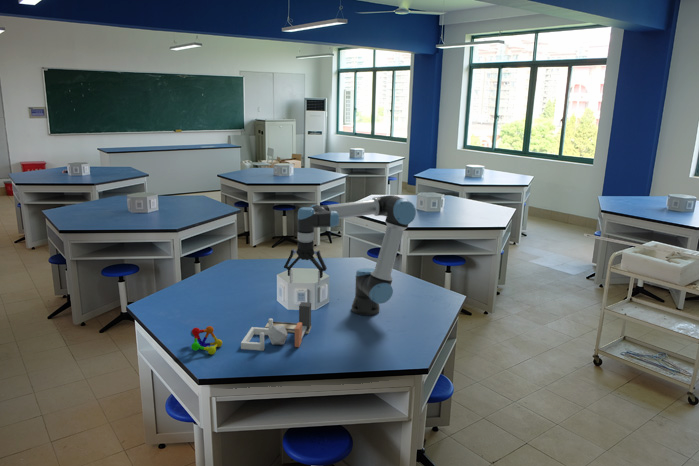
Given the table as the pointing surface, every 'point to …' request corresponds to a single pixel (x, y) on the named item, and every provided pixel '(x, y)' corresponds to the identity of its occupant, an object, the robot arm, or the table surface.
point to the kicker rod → (302, 322)
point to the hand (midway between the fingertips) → (305, 283)
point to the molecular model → (202, 344)
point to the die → (278, 335)
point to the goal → (255, 330)
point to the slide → (287, 326)
